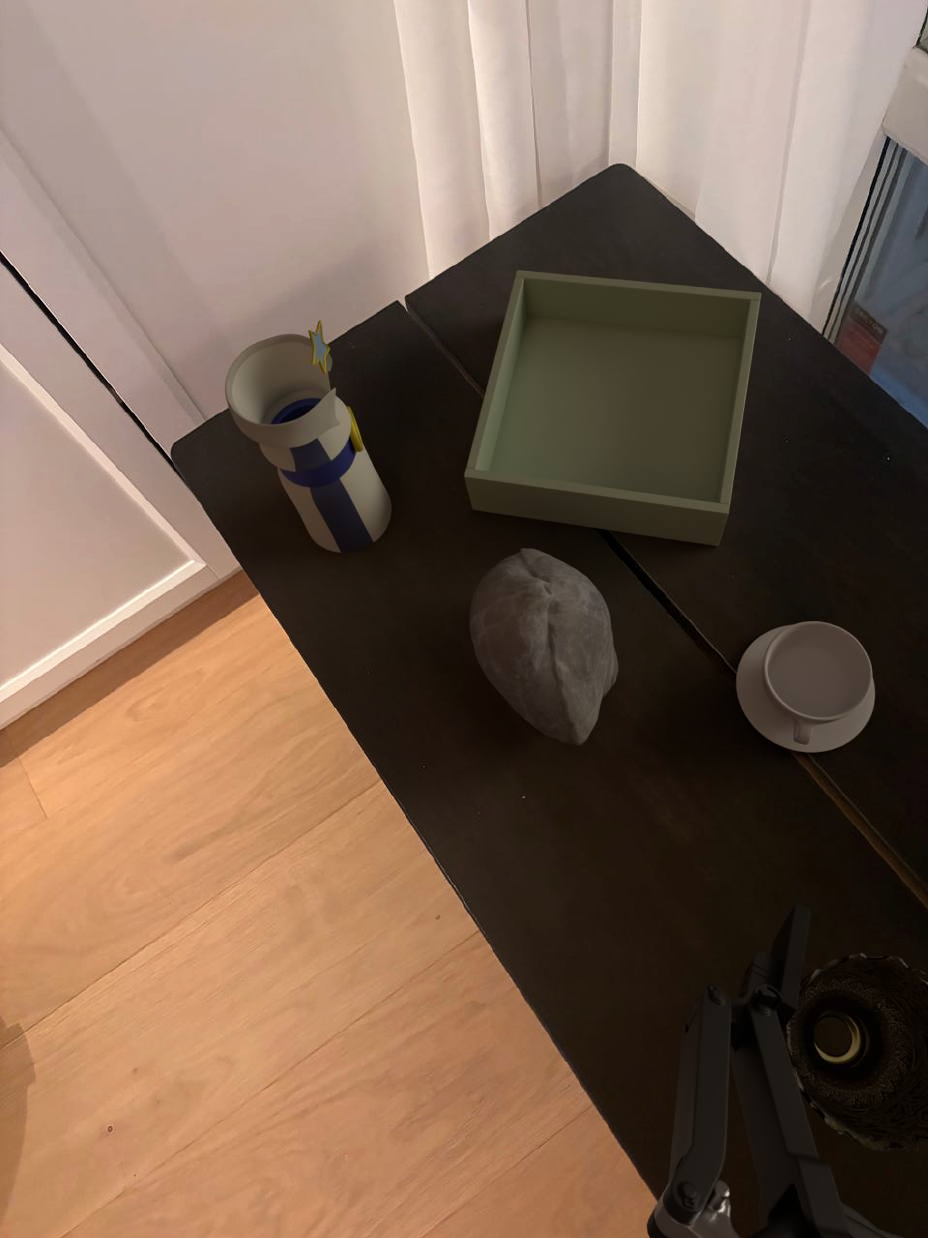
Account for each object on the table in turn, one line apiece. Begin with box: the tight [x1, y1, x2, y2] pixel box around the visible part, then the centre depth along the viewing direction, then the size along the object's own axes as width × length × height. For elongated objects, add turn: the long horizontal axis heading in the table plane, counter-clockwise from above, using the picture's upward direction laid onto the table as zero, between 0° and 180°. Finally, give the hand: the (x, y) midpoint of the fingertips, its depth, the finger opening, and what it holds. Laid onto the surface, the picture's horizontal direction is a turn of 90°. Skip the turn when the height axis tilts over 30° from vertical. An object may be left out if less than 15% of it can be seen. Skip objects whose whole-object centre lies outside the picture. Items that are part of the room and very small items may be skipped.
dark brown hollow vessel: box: [783, 952, 928, 1153], centre depth 41 cm, size 8×7×8 cm
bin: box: [463, 269, 762, 547], centre depth 76 cm, size 21×21×6 cm
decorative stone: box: [468, 547, 619, 747], centre depth 65 cm, size 15×10×15 cm
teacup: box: [735, 620, 876, 753], centre depth 67 cm, size 10×10×5 cm
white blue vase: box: [224, 319, 393, 554], centre depth 68 cm, size 8×9×25 cm
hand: (877, 969), depth 42 cm, fingers closed on dark brown hollow vessel, 7 cm apart
